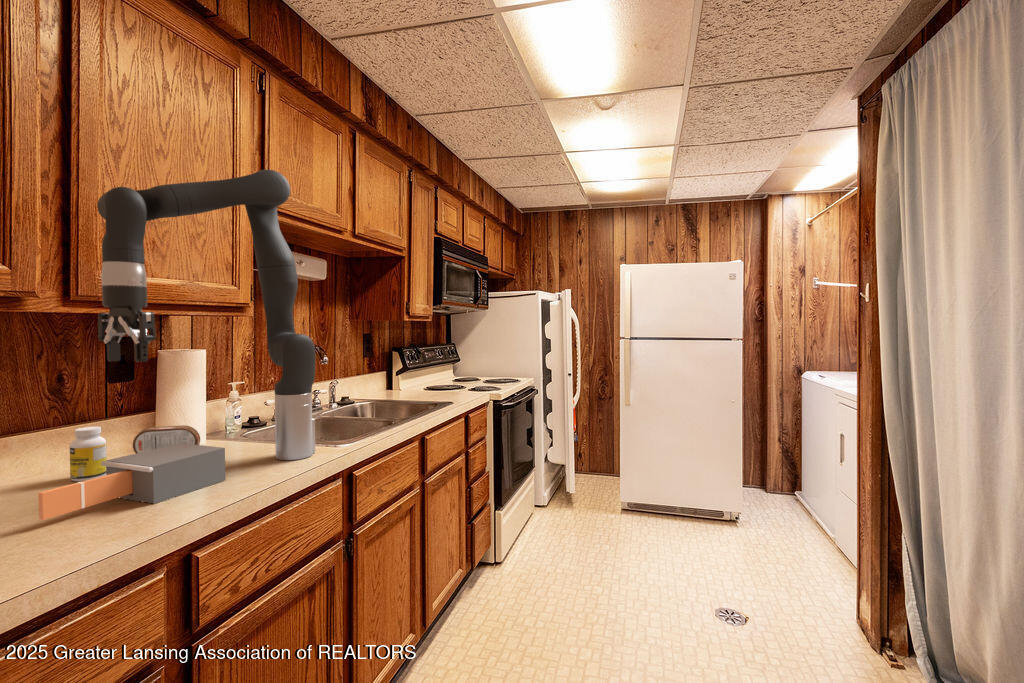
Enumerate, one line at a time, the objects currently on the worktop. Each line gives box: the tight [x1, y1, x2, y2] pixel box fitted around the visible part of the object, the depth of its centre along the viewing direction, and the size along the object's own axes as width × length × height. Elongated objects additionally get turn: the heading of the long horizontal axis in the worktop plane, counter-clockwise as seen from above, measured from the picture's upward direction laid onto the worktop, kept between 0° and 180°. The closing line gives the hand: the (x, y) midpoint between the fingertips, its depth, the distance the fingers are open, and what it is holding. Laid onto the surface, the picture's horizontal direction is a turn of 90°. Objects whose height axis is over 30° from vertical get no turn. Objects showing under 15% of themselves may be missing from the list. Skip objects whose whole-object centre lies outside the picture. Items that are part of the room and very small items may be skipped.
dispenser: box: [101, 443, 226, 504], centre depth 107 cm, size 17×14×8 cm
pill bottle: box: [69, 426, 108, 482], centre depth 115 cm, size 6×6×12 cm
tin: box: [132, 424, 201, 454], centre depth 133 cm, size 15×3×8 cm, turn 111°
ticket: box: [37, 470, 133, 521], centre depth 94 cm, size 18×1×5 cm, turn 160°
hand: (127, 361), depth 105 cm, fingers open, 8 cm apart
